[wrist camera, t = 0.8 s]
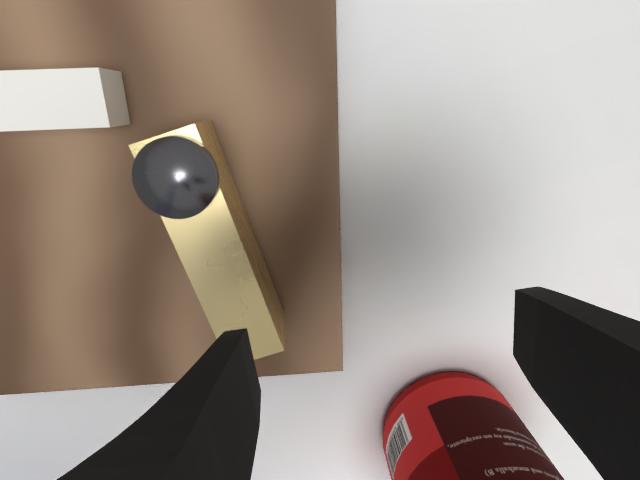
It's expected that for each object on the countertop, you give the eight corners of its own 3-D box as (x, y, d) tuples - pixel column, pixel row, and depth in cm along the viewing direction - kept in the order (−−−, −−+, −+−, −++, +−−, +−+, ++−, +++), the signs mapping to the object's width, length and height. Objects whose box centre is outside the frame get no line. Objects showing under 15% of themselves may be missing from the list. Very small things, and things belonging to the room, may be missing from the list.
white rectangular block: (3, 129, 16) (-34, 132, 15) (-12, 75, 16) (-53, 72, 14) (130, 124, 17) (109, 127, 15) (121, 71, 16) (98, 67, 14)
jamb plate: (-3, 383, 21) (-17, 396, 20) (-151, -43, 15) (-180, -53, 14) (340, 359, 22) (342, 370, 21) (331, -52, 16) (334, -62, 15)
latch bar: (151, 139, 17) (115, 148, 13) (215, 118, 17) (196, 122, 13) (234, 330, 20) (222, 377, 17) (289, 313, 20) (288, 357, 16)
